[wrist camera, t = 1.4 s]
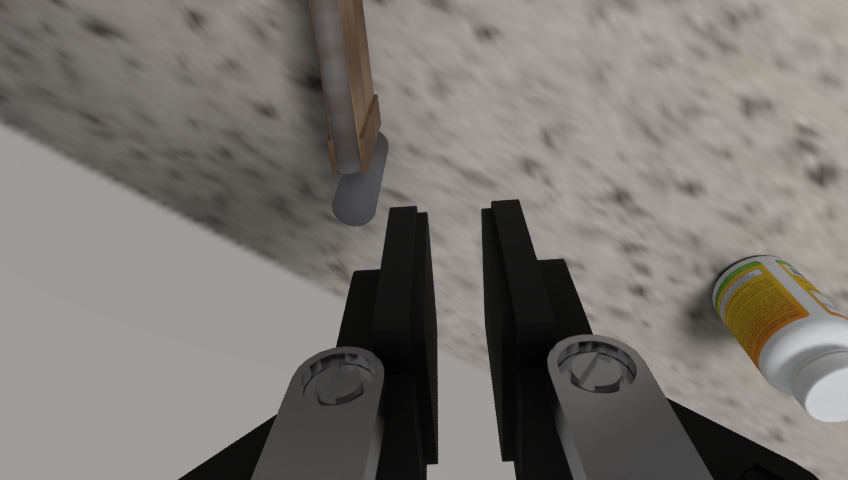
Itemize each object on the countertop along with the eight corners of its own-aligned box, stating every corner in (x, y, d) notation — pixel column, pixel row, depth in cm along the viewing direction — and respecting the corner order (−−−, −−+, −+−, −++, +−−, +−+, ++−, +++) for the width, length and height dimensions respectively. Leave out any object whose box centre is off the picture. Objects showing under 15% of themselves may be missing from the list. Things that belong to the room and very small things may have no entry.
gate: (321, -85, 26) (284, -87, 20) (355, -88, 26) (329, -91, 20) (352, 125, 31) (330, 179, 25) (381, 123, 31) (366, 177, 25)
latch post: (351, 130, 32) (329, 188, 25) (386, 128, 32) (373, 185, 25) (356, 162, 33) (335, 227, 26) (390, 160, 33) (378, 224, 26)
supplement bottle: (703, 322, 39) (778, 435, 30) (718, 255, 36) (805, 358, 27) (783, 318, 38) (882, 431, 30) (804, 251, 36) (919, 353, 27)
